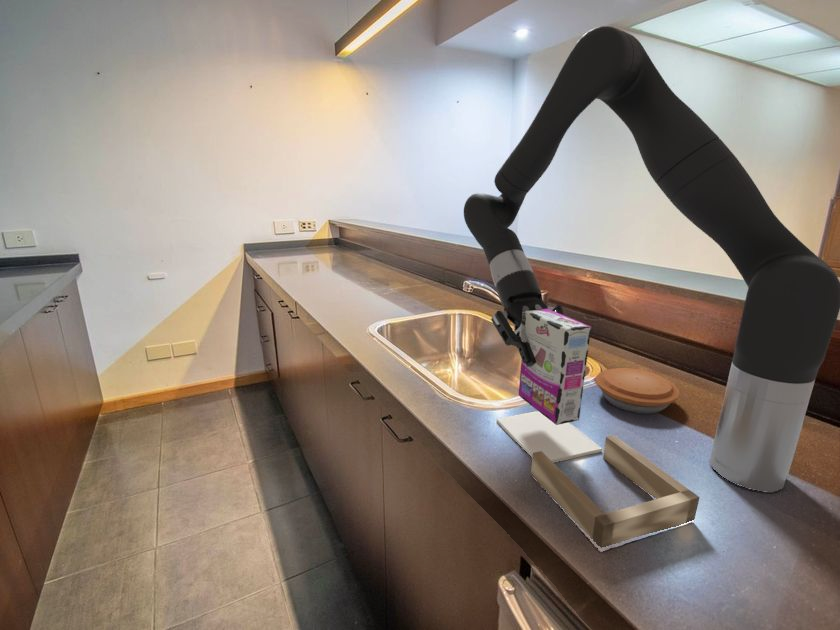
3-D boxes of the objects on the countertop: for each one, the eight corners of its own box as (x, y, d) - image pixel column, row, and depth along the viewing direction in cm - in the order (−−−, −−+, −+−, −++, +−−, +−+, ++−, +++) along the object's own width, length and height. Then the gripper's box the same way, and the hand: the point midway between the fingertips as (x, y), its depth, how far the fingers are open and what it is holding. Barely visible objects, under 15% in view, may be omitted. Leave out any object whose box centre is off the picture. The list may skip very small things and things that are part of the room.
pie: (674, 428, 77) (679, 404, 75) (586, 405, 85) (588, 383, 84) (678, 395, 89) (683, 373, 88) (601, 377, 97) (603, 357, 96)
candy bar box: (581, 420, 69) (593, 326, 64) (556, 426, 67) (566, 330, 62) (539, 390, 79) (547, 306, 74) (517, 395, 77) (523, 309, 72)
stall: (610, 456, 69) (613, 434, 68) (693, 522, 55) (699, 497, 54) (530, 475, 64) (532, 453, 63) (600, 552, 51) (604, 525, 49)
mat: (551, 411, 83) (551, 408, 83) (601, 451, 70) (601, 448, 70) (496, 421, 79) (496, 418, 79) (539, 466, 66) (539, 463, 66)
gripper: (487, 271, 74) (518, 359, 67) (556, 266, 79) (592, 349, 71) (473, 293, 81) (500, 376, 73) (537, 287, 85) (569, 365, 78)
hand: (545, 362), depth 72 cm, fingers closed on candy bar box, 5 cm apart
